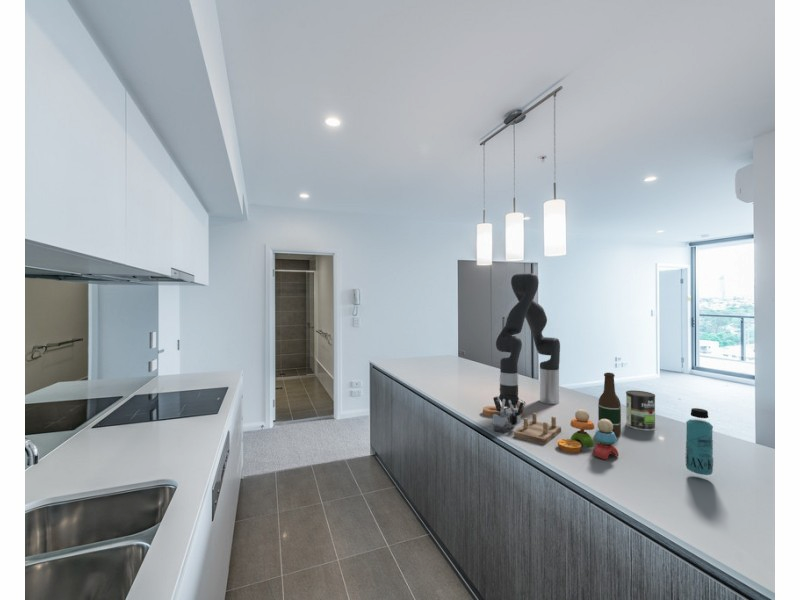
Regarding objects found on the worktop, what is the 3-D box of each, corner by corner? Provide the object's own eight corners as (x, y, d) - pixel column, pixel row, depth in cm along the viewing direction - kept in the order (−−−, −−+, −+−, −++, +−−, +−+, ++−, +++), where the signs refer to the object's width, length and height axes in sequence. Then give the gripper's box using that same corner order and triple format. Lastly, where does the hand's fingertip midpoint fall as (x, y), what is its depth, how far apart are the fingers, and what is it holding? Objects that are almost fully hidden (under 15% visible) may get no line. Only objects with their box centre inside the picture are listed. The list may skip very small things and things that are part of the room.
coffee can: (661, 430, 148) (661, 395, 149) (640, 432, 146) (640, 397, 146) (640, 421, 159) (640, 389, 159) (620, 423, 156) (620, 390, 157)
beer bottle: (619, 431, 147) (619, 372, 147) (622, 438, 140) (621, 375, 140) (597, 428, 150) (597, 370, 150) (599, 434, 143) (598, 374, 143)
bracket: (521, 413, 172) (521, 398, 172) (524, 419, 164) (524, 403, 164) (482, 411, 174) (482, 397, 174) (483, 417, 166) (483, 402, 166)
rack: (531, 425, 155) (531, 410, 155) (561, 431, 147) (561, 416, 147) (513, 436, 141) (513, 421, 141) (544, 444, 133) (544, 428, 133)
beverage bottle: (680, 470, 113) (679, 406, 113) (699, 469, 114) (699, 405, 114) (699, 481, 106) (698, 412, 107) (719, 480, 107) (719, 412, 107)
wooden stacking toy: (549, 446, 133) (549, 412, 133) (579, 437, 141) (579, 405, 141) (596, 465, 117) (596, 426, 117) (627, 454, 125) (627, 418, 125)
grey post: (509, 420, 162) (509, 406, 162) (522, 423, 158) (522, 409, 158) (490, 430, 148) (490, 416, 148) (504, 434, 144) (504, 419, 144)
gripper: (528, 383, 152) (529, 424, 152) (497, 379, 162) (497, 417, 162) (521, 386, 147) (521, 429, 147) (489, 381, 156) (489, 421, 156)
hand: (509, 422), depth 154 cm, fingers closed on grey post, 4 cm apart
